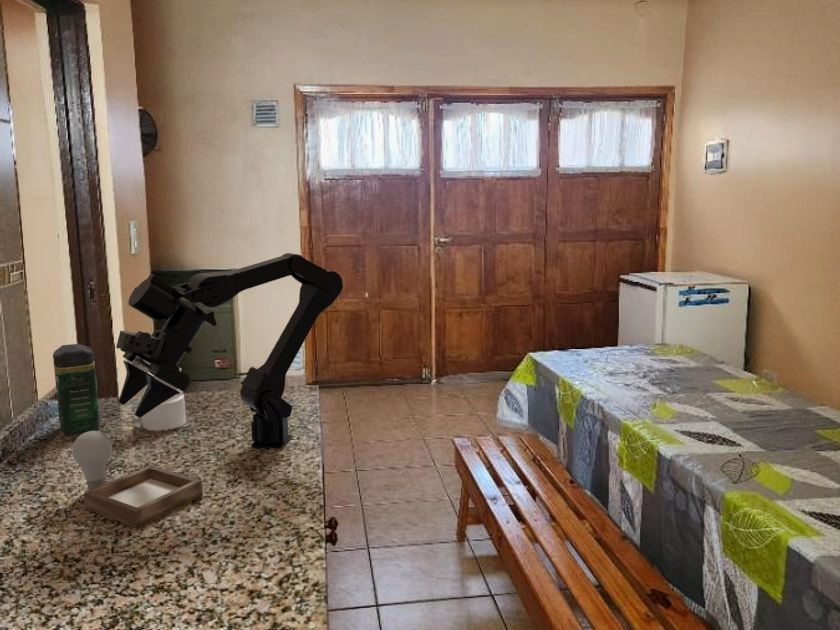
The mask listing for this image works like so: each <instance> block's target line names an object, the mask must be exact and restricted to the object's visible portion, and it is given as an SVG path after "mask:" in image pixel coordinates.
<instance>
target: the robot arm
mask: <svg viewBox="0 0 840 630" xmlns="http://www.w3.org/2000/svg"><path fill="white" fill-rule="evenodd" d="M289 276H291V278H293V279H294V280H296V281H297V282H298V283H299V284H301V286H300V288H299V294H298V295H299V297H298V303H297V306H296V308H295V310H294V311H293V313H292V315H291V316H290V318H289V320H288V322H287V324H286V326H285V327H284V329H283V330H282V332H281V334H280V336H279V337H278V340H277V341H276V343H275V345H274V347H273V348H272V350H271V352H270V353H269V355H268V357H267V358H266V360H265V362H264V363H263V364H262V365H260V367H258V368H257V367H254V366H250V367H249V369H248V371H247V374H246V377H245V378H244V379H243V380H242V381H241V382H240V383H239V384H240V385H242V386H241V388H240V389H239V394H240V398H241V400H242V402H243V404H245V405H247V406H248V407H249V410H250V412H253V413H255V414H253V416H252V421H251V423H250V426H251V428H250V429H251V441H253V442H252V443H251V444H250V446H251V448H263V449H282V448H283V447H285V445H287V443H288V442H289V441H290V440H291V439H292V435H291V434H289V419H288V418H290V417H291V415H292V411H293V406H292V405H291V404H290V403H288V402H287V401H286V400H285V399H284V398H282V397H283V395H284V392H285V391H286V390H285V389H286V388H285V387H286V378H287V373H288V371H289V370H290V368H291V366H292V364H293V362H294V360H295V359H296V357H297V355H298V353H299V351H300V350H301V348H302V346H303V344H304V343H305V341H306V339H307V337H308V336H309V333H310V332H311V330H312V328H313V327H314V325H315V322H316V321H317V319H318V317H319V316H320V314H321V313H323V312H324V311H325V310H327V309H328V308H329V307H330V306H332V305H333V304H334V302H335V301H336V300H337V298H338V297H339V296H340V294H341V293H342V291H343V288H344V283H343V279H342V277H341V275H340V274H339V273H338V272H336V271H333V270H328V269H325V268H323V267H321V266H319V265H317V264H316V263H313V262H311V261H310V260H308V259H307V258H305V257H303V256H302V255H301V254H298V253H292V252H287V253H284V254H282V255H281V256H280V255H279V256H276V257H273V258H270V259H268V260H267V259H266V260H264V261H263V260H262V261H261V262H258V263H254V264H251V265H247V266H243V267H241V268H237V269H234V270H227V271H226V270H225V271H210V272H202V273H195V274H194V275H192V276H191V277H190V278H189V280H188V281H187V282H185V283H182V284H180V285H177V286H174V287H173V286H171V285H170V284H168V283H167V282H165V281H163V280H162V279H161V278H160V277H159V276H158V275H156V274H152V273H150V274H149V275H148V277H147V278H146V279H145V280H143V281H142V282H141V283H139V285H138V286H135V288H134V289H133V291H132V292H131V294H130V295H129V299H128V303H127V304H128V305H129V307H131V308H132V309H135V310H137V311H138V312H139V313H141V314H142V315H145V316H146V317H148V318H150V319H151V320H153V321H155V322H160V321H162V320H165V321H166V322H165V323H164V325H163V327H162V329H160V330H159V329H155V330H154V331H153V332H152V333H150V332H148V331H147V332H143V331H140V330H138V331H137V332H133V331H126V330H120V331H119V335H118V338H117V343H116V347H115V348H116V349H120V351H121V352H122V353H123V355H122V356H121V357H122V358H123V359H126V360H127V361H126V360H123V362H122V363H123V364H124V367H125V371H126V376H125V380H124V383H123V385H122V389H121V393H120V396H119V399H118V403H119V404H120V405H123V406H124V405H126V404H127V403H128V402H129V401H131V400H132V399H133V398H134V397H135V396H136V395H137V394H138V393H141V390H142V389H143V388H144V387H145V386H146V385H147V384H148V387H147V389H146V391H145V393H144V395H143V397H142V399H141V398H140V402H139V404H138V405H137V408H136V410H135V413H134V415H135V417H137V418H141V417H142V416H144V415H145V414H146V413H148V412H149V411H151V410H152V409H154V408H155V407H157V406H158V405H160V404H161V403H163V402H165V401H166V400H168V399H170V398H171V397H173V396H175V395H176V394H180V392H179V391H177V389H179V390H181V391H183V393H186V391H187V389H188V388H189V387H190V385H191V379H190V375H188V374H186V373H184V372H183V371H182V370H181V371H179V369H180V368H181V367H178V365H179V363H180V361H181V360H182V358H183V357H184V355H185V354H186V353H187V354H190V353H192V350H193V348H191V347H190V346H191V345H192V342H194V340H195V338H196V337H197V335H198V333H200V331H201V328H202V327H203V326H204V324H207V325H209V326H212V327H217V321H216V317H215V312H214V311H212V310H206V311H205V310H204V309H202V308H201V307H199V306H198V305H202V306H205V307H208V308H216V307H220V306H221V305H223V304H224V303H226V302H228V301H231V300H232V299H234V298H235V297H236V296H237V295H238V294H240V293H242V292H243V291H246V290H248V289H249V290H250V289H252V288H255V287H258V286H261V285H265V284H268V283H270V282H274V281H277V280H280V279H282V278H286V277H289ZM180 300H183V301H186V302H189V303H193V304H190V305H186V304H184V303H183V302H181V301H180ZM195 303H196V304H198V305H196V304H195ZM149 373H150V374H149ZM151 374H152V375H154V376H155V377H154V376H152V375H151Z"/></svg>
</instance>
